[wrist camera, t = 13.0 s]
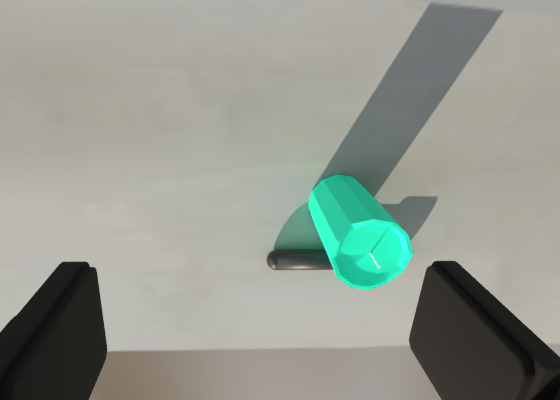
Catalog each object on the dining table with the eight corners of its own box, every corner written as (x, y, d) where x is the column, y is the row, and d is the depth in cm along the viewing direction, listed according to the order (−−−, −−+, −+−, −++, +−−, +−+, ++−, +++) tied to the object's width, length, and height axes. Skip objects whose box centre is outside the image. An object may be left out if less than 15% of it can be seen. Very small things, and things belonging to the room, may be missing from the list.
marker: (266, 264, 38) (267, 277, 36) (266, 245, 37) (268, 256, 35) (394, 263, 39) (402, 275, 37) (397, 245, 38) (406, 256, 36)
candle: (368, 171, 35) (425, 224, 24) (366, 226, 37) (417, 299, 26) (307, 176, 35) (336, 232, 23) (308, 232, 37) (336, 307, 26)
